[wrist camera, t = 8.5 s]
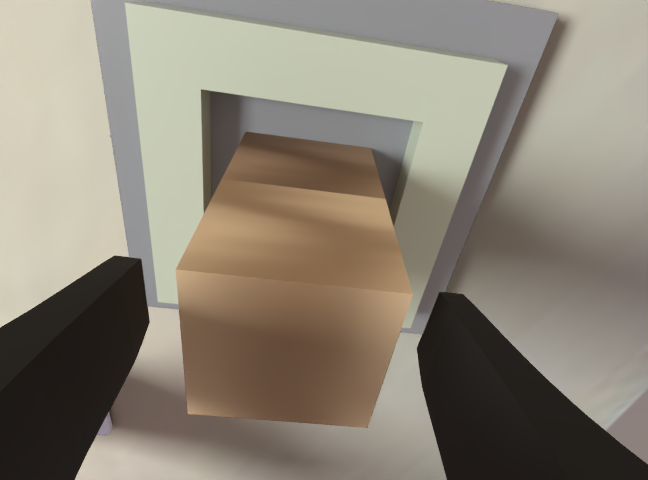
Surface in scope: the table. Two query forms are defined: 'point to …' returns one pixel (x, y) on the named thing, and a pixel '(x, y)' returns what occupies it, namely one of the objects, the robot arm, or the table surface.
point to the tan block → (292, 286)
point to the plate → (314, 110)
